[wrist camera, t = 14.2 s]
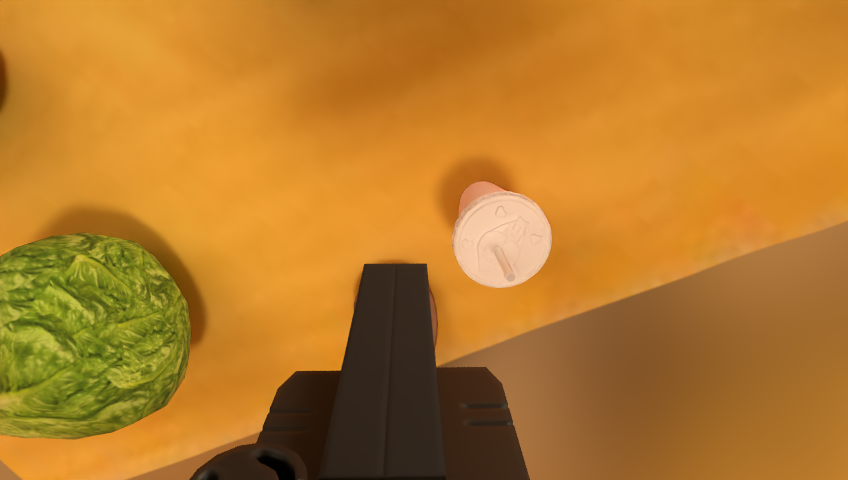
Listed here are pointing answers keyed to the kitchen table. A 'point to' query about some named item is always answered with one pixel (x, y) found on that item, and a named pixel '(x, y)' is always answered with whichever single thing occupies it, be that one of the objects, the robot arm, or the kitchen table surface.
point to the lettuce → (87, 336)
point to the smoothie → (500, 236)
